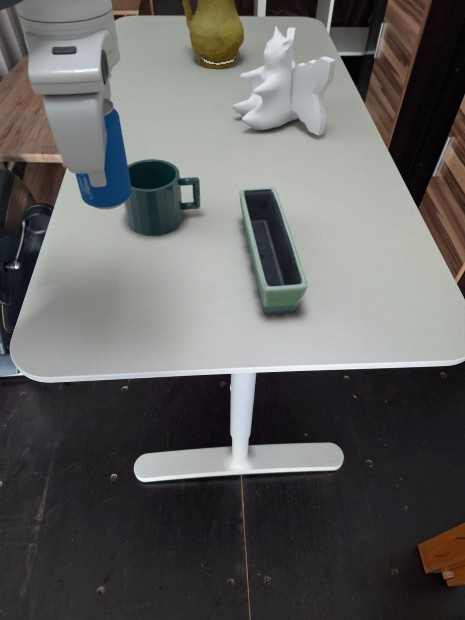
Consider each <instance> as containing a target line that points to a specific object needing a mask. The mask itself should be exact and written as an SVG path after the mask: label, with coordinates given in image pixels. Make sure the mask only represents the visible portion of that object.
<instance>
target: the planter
mask: <svg viewBox="0 0 465 620" xmlns="http://www.w3.org/2000/svg"><path fill="white" fill-rule="evenodd" d="M238 193H239V202H240V208H241V209H240V210H241V216H242V222H243V228H244V232H245V236H246V241H247V244H248V249H249V253H250V258H251V262H252V266H253V271H254V275H255V280H256V284H257V289H258V293H259V297H260V301H261V304H262V309H263V312H264V313H265V314H267V315H271V314H285V313H293V312H295V311H296V309H297V308H298V306H299V305H300V302H301V301H302V299H303V297H304V296H305V294H306V291H307V290H308V282H307V277H306V275H305V272H304V269H303V265H302V262H301V259H300V256H299V253H298V250H297V247H296V244H295V241H294V239H293V235H292V231H291V229H290V227H289V224H288V223H289V222H288V220H287V217H286V215H285V211H284V208H283V206H282V203H281V200H280V197H279V195H278V193H277V189H276V188H275V187H271V186H269V187H252V188H251V187H250V188H241V189H239V191H238Z"/></svg>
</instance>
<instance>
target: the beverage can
mask: <svg viewBox="0 0 465 620" xmlns="http://www.w3.org/2000/svg"><path fill="white" fill-rule="evenodd" d="M105 101H106V102H105V110H104V114H103V115H104V120H105V127H106V132H107V142H106V153H105V165H104V166H105V171H106V175H107V182H106V185H105V186H104V187H93V186H92V185H91V183H90V179H89V175H88V173H78V174H75V173H74V174H75V179H76V182H77V186H78V190H79V193H80V196H81V199H82V201H83V202H84V203H85V204H86V205H88V206H90V207H93V208H95V209H97V210H112V209H116V208H118V207H120V206H122V205H124V203H125V202H126V201H127V200H128V199H129V198H130V196H131V194H132V187H131V182H130V176H129V170H128V165H129V164H128V159H127V154H126V147H125V141H124V135H123V131H122V124H121V118H120V114H119V112H118V111H117V109H116V108H115V107H114V102H112V101H111V99H110V100H109V99H106V98H105Z"/></svg>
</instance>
